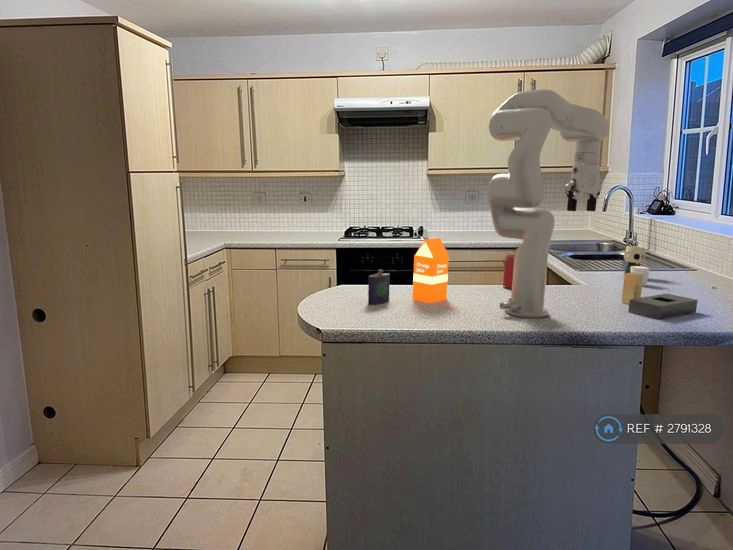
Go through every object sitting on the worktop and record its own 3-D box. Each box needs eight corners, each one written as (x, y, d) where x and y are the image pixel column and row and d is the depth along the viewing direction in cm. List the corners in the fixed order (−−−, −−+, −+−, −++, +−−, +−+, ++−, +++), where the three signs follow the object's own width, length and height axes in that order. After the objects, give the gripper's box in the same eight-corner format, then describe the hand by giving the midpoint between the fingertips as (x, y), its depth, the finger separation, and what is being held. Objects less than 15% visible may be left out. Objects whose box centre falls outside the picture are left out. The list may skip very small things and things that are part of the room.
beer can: (507, 285, 208) (509, 253, 206) (523, 287, 204) (526, 255, 202) (499, 287, 203) (501, 255, 201) (516, 290, 199) (518, 257, 197)
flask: (384, 299, 179) (386, 267, 177) (391, 301, 177) (393, 268, 175) (365, 304, 172) (366, 270, 170) (372, 305, 170) (373, 271, 168)
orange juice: (412, 298, 181) (414, 238, 177) (428, 295, 187) (430, 236, 183) (431, 303, 175) (434, 241, 172) (447, 299, 182) (450, 239, 178)
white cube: (651, 286, 213) (653, 268, 212) (633, 286, 213) (635, 268, 212) (642, 283, 220) (644, 265, 218) (625, 282, 220) (627, 265, 218)
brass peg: (632, 305, 180) (636, 275, 178) (621, 302, 183) (624, 273, 182) (639, 304, 182) (643, 274, 180) (628, 301, 186) (632, 272, 184)
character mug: (628, 279, 227) (631, 248, 225) (615, 276, 234) (618, 245, 231) (649, 278, 231) (652, 247, 228) (635, 275, 237) (639, 245, 235)
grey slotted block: (659, 319, 162) (660, 306, 162) (628, 311, 171) (629, 299, 170) (695, 312, 173) (697, 299, 172) (664, 305, 181) (666, 293, 180)
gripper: (578, 157, 174) (572, 211, 177) (613, 160, 183) (607, 211, 186) (559, 157, 180) (554, 210, 183) (594, 160, 189) (588, 210, 192)
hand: (581, 211), depth 184 cm, fingers open, 9 cm apart
